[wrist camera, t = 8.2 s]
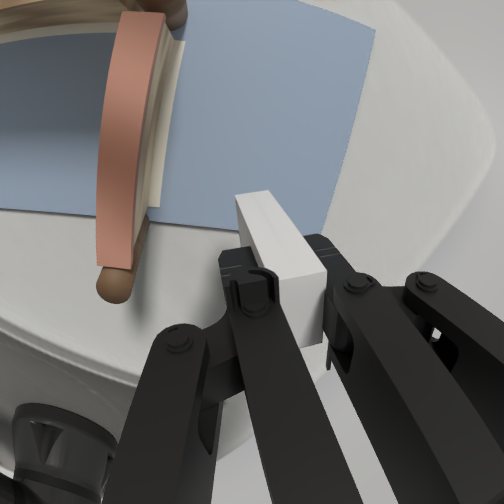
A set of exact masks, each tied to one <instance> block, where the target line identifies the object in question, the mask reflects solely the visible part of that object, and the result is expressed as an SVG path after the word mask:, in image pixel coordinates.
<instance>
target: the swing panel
mask: <svg viewBox="0 0 504 504" xmlns="http://www.w3.org/2000/svg"><path fill="white" fill-rule="evenodd" d="M165 20H166V16H165V13H156V12H134V11H122V14H121V17H120V21H119V25H118V29H117V34H116V38H115V42H114V47H113V52H112V57H111V62H110V67H109V73H108V78H107V84H106V91H105V97H104V105H103V112H102V120H101V130H100V140H99V151H98V166H97V186H96V253H97V265H98V266H103V268H102V270H101V273H100V275H99V278H98V280H97V283H96V289H97V292H98V294H99V295H100V297H101V298H102V299H104V300H105V301H107V302H109V303H113V304H120V303H123V302H125V301H127V300H128V299H129V297H130V295H131V291H132V287H133V283H134V278H135V274H136V270H137V267H138V263H139V259H140V255H141V251H142V248H143V244H144V240H145V237H146V233H147V230H148V226H149V218H148V216H147V215H146V214H145V213H146V210H147V206H148V195H149V185H150V176H151V167H152V159H153V152H154V144H155V137H156V130H157V124H158V118H159V112H160V106H161V100H162V95H163V89H164V84H165V79H166V74H167V69H168V64H169V60H170V55H171V51H172V46H173V42H174V39H173V37H172V35H171V33H170V31H169V29H168V27H167V25H166V23H165Z"/></svg>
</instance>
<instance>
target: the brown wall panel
mask: <svg viewBox="0 0 504 504" xmlns="http://www.w3.org/2000/svg"><path fill="white" fill-rule="evenodd" d="M122 11H134V12H143V11H144V12H156V13H165V16H166V20H165V23H166V25H167V27H168V29H169V31H174V30H176V29H178V28H180V27H181V26H183V25H184V23H185V22H186V20H187V18H188V9H187V1H186V0H0V35H1V34H6V33H11V32H16V31H21V30H27V29H33V28H40V27H48V26H56V25H66V24H79V23H98V22H119V21H120V17H121V14H122Z"/></svg>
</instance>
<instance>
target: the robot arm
mask: <svg viewBox="0 0 504 504" xmlns="http://www.w3.org/2000/svg"><path fill="white" fill-rule="evenodd" d="M235 204H236V212H237V220H238V228H239V236H240V244H241V248H235V249H230V250H224V251H222V253H221V255H220V257H219V259H218V261H219V267H220V273H221V278H222V284H223V290H224V295H225V300H226V305H227V310H226V312H225V314H224V316H223V317H222V318H221V319H220V320H219V321H218V322H217V323H215V324H213V325H212V326H210V327H208V328H205V329H203V330H201V329H200V328H198V327H197V326H195V325H191V324H185V323H184V324H176V325H173V326H170V327H168V328H165V329H164V330H163V331H162V332H160V333H159V334H158V335H157V337H156V338H155V340H154V341H153V344H152V347H151V349H150V352H149V355H148V358H147V360H146V363H145V366H144V369H143V372H142V374H141V377H140V380H139V383H138V386H137V389H136V392H135V395H134V398H133V401H132V404H131V407H130V410H129V413H128V416H127V419H126V422H125V425H124V428H123V431H122V434H121V438H120V441H119V444H118V447H117V443H116V441H115V439H114V438H113V437H112V436H111V435H110V434H109V433H108V432H107V431H106V430H104V429H103V428H101V427H100V426H98V425H97V424H95V423H93V422H91V421H89V420H87V419H85V418H83V417H81V416H79V415H76V414H74V413H71V412H68V411H66V410H63V409H59V408H56V407H52V406H48V405H43V404H34V403H28V404H22V405H20V406H18V407H17V408H16V410H15V414H14V417H13V421H12V435H13V446H14V455H15V470H14V476H13V479H11V478H9V477H8V476H6V475H4V474H2V473H1V472H0V504H101V493H102V490H103V488H104V485H105V483H106V481H107V479H108V482H107V485H106V489H105V493H104V496H103V500H102V504H211V498H212V490H213V481H214V473H215V466H216V457H217V449H218V441H219V434H220V426H221V418H222V410H223V400H226V399H228V398H230V397H232V396H234V395H236V394H238V393H240V392H242V391H245V396H246V400H247V404H248V409H249V413H250V417H251V421H252V426H253V430H254V434H255V438H256V442H257V446H258V450H259V454H260V458H261V462H262V466H263V470H264V474H265V478H266V482H267V486H268V489H269V493H270V497H271V500H272V504H363V502H362V499H361V497H360V494H359V492H358V489H357V487H356V484H355V482H354V480H353V477H352V475H351V472H350V470H349V468H348V465H347V462H346V460H345V458H344V455H343V453H342V450H341V448H340V446H339V443H338V441H337V438H336V436H335V434H334V431H333V429H332V426H331V424H330V421H329V419H328V417H327V414H326V412H325V409H324V407H323V405H322V402H321V400H320V397H319V395H318V392H317V390H316V388H315V385H314V383H313V381H312V378H311V376H310V373H309V371H308V369H307V366H306V364H305V361H304V359H303V357H302V354H301V352H300V349H299V348H303V347H307V346H311V345H315V344H319V343H322V339H323V330H324V332H325V334H326V336H327V338H328V340H329V342H328V351H327V359H326V368H327V370H330V368H331V361H332V363H333V365H334V367H335V369H336V371H337V373H338V375H339V377H340V379H341V381H342V383H343V385H344V387H345V389H346V391H347V394H348V396H349V398H350V400H351V402H352V404H353V406H354V408H355V410H356V412H357V415H358V417H359V419H360V421H361V423H362V425H363V427H364V429H365V431H366V434H367V436H368V438H369V440H370V442H371V444H372V446H373V448H374V451H375V453H376V455H377V457H378V459H379V461H380V464H381V466H382V468H383V470H384V473H385V475H386V477H387V479H388V481H389V483H390V485H391V488H392V490H393V492H394V495H395V497H396V499H397V501H398V504H504V322H503V321H501V320H500V319H499V318H498V317H496V316H495V315H493V314H492V313H491V312H489V311H488V310H486V309H485V308H484V307H482V306H481V305H480V304H478V303H477V302H475V301H474V300H473V299H471V298H470V297H468V296H467V295H466V294H464V293H463V292H461V291H460V290H458V289H457V288H455V287H454V286H452V285H451V284H449V283H448V282H447V281H445V280H443V279H442V278H440V277H439V276H437V275H435V274H433V273H429V272H414V273H411V274H410V275H409V276H408V277H407V278H406V282H405V286H395V287H386V286H381V284H380V283H379V282H378V281H377V280H376V279H375V278H373V277H372V276H370V275H367V274H365V273H358V272H356V271H355V270H354V269H353V268H352V266H351V265H350V264H349V263H348V262H347V260H346V259H345V258H344V257H343V256H342V254H340V252H339V251H338V250H337V248H335V246H334V245H333V244H332V242H331V241H330V240H329V239H328V238H326V237H324V236H322V235H320V234H318V233H317V234H311V235H305V236H302V235H301V233H300V232H299V231H298V229H297V228H296V227H295V225H294V224H293V222H292V221H291V220H290V218H289V217H288V216H287V214H286V213H285V212H284V210H283V209H282V208H281V206H280V205H279V204H278V202H277V201H276V199H275V198H274V197H273V195H272V194H271V193H270V192H269V190H265V191H258V192H251V193H245V194H238V195H235ZM434 328H436V329H438V330H439V331H440V332H441V336H440V338H439V339H436V338H434V337H432V334H433V331H434ZM109 474H110V475H109ZM108 476H109V478H108Z"/></svg>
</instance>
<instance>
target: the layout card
mask: <svg viewBox="0 0 504 504" xmlns="http://www.w3.org/2000/svg"><path fill="white" fill-rule="evenodd" d="M186 1H187V9H188V18H187V20H186V22H185V23H184V25H183V26H181V27H180V28H178V29H176V30H174V31H170V33H171V35H172V37H173V39H174V42H173V46H172V51H171V55H170V60H169V64H168V69H167V74H166V79H165V84H164V89H163V95H162V100H161V106H160V112H159V118H158V124H157V130H156V137H155V144H154V152H153V159H152V167H151V176H150V185H149V195H148V206H147V210H146V213H145V214H146V215H147V216H148V218H149V221H156V222H165V223H175V224H185V225H194V226H203V227H213V228H222V229H231V230H239V228H238V220H237V212H236V204H235V195H238V194H245V193H251V192H258V191H265V190H269V192H270V193H271V194H272V195H273V197H274V198H275V199H276V201H277V202H278V204H279V205H280V206H281V208H282V209H283V210H284V212H285V213H286V214H287V216H288V217H289V218H290V220H291V221H292V222H293V224H294V225H295V227H296V228H297V229H298V231H299V232H300V233H301V235H302V236H305V235H311V234H317V233H318V234H320V235H321V231H322V228H323V225H324V222H325V219H326V216H327V213H328V210H329V206H330V203H331V200H332V197H333V193H334V190H335V187H336V183H337V180H338V177H339V173H340V170H341V166H342V163H343V160H344V156H345V153H346V149H347V145H348V142H349V138H350V135H351V131H352V127H353V123H354V120H355V116H356V112H357V108H358V104H359V100H360V96H361V92H362V88H363V84H364V80H365V76H366V72H367V68H368V63H369V59H370V54H371V50H372V45H373V41H374V36H375V31H376V30H375V29H372V28H370V27H368V26H366V25H363V24H361V23H359V22H356V21H354V20H351V19H349V18H346V17H344V16H341V15H339V14H336V13H333V12H330V11H328V10H325V9H322V8H319V7H316V6H313V5H310V4H307V3H303V2H300V1H297V0H186ZM143 12H144V11H143ZM118 25H119V22H98V23H79V24H66V25H56V26H48V27H40V28H33V29H27V30H21V31H16V32H11V33H6V34H1V35H0V208H7V209H21V210H34V211H46V212H58V213H70V214H81V215H93V216H96V186H97V166H98V151H99V140H100V130H101V120H102V112H103V105H104V97H105V91H106V84H107V78H108V73H109V67H110V62H111V57H112V52H113V47H114V42H115V38H116V34H117V29H118Z"/></svg>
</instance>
